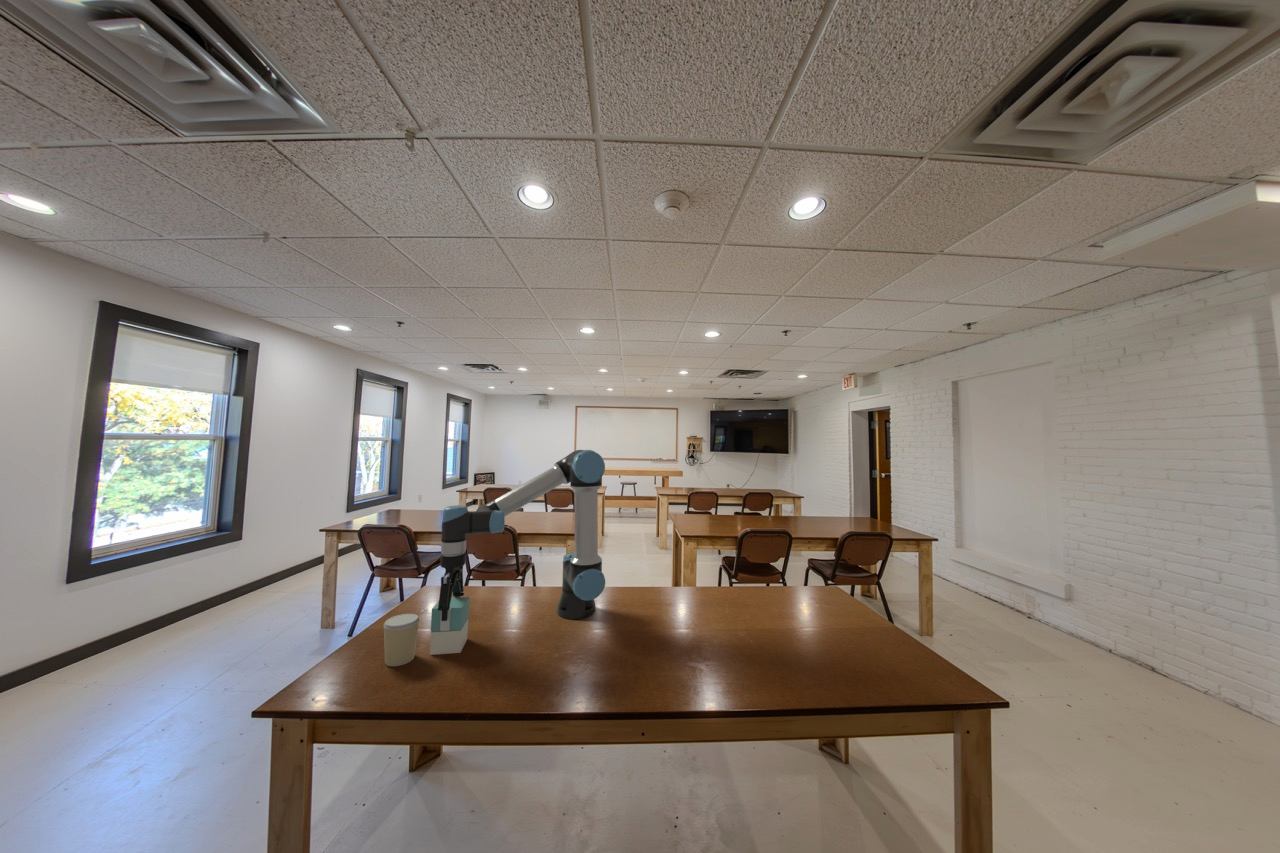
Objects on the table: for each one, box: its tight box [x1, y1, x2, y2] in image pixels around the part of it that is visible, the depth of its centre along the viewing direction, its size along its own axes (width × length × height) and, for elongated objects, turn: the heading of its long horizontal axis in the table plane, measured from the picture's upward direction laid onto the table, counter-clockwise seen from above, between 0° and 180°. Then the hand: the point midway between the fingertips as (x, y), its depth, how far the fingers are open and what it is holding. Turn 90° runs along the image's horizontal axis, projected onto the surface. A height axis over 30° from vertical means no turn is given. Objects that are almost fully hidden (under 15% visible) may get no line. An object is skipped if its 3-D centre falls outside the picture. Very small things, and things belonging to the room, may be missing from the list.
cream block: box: [429, 619, 469, 656], centre depth 129 cm, size 9×9×7 cm
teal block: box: [430, 596, 470, 633], centre depth 130 cm, size 9×9×7 cm
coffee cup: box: [383, 613, 420, 667], centre depth 121 cm, size 9×9×12 cm
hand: (450, 623), depth 130 cm, fingers closed on teal block, 9 cm apart
